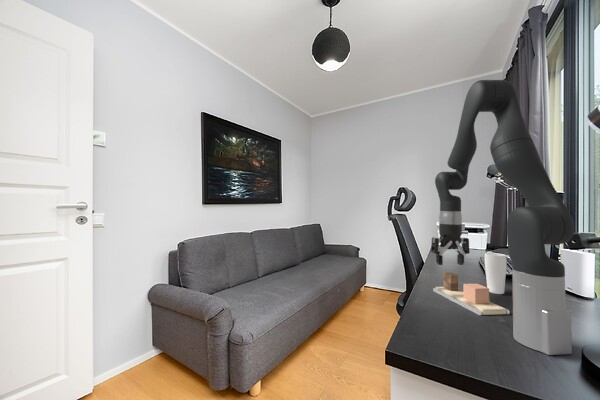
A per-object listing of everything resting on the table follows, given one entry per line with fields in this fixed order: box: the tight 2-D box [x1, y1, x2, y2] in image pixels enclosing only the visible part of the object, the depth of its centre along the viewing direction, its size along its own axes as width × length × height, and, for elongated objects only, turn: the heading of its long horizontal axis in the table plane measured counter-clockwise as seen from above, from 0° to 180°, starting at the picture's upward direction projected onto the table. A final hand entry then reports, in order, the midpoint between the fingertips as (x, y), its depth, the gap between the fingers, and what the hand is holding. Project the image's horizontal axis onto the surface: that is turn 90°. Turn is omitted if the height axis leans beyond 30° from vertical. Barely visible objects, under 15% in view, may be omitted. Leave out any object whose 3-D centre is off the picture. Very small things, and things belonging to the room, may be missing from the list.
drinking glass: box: [484, 252, 507, 295], centre depth 97 cm, size 7×7×15 cm
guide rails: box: [432, 287, 511, 316], centre depth 87 cm, size 22×10×1 cm, turn 6°
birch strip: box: [435, 271, 507, 316], centre depth 87 cm, size 22×8×8 cm, turn 6°
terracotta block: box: [462, 283, 490, 304], centre depth 83 cm, size 5×5×5 cm
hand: (450, 264), depth 95 cm, fingers open, 8 cm apart
